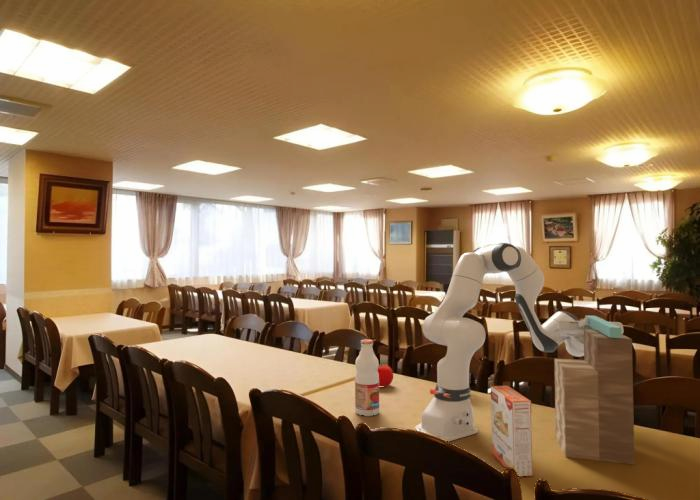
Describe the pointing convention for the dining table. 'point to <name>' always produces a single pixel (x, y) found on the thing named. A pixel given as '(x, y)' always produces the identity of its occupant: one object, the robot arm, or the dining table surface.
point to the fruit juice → (367, 381)
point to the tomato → (385, 375)
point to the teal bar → (604, 327)
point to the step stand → (596, 400)
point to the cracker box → (512, 429)
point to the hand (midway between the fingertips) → (594, 320)
